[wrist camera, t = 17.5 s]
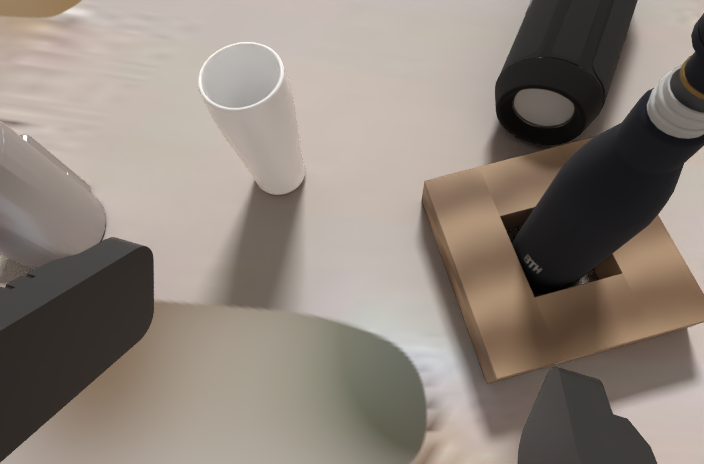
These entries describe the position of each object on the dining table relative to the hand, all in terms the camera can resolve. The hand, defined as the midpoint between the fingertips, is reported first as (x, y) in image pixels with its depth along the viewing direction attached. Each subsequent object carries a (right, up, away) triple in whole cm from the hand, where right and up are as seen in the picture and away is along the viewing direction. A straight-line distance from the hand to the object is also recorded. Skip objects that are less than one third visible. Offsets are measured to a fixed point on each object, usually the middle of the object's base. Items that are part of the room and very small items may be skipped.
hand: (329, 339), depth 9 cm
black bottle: (+18, -1, +35) cm, 39 cm away
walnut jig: (+18, 0, +35) cm, 39 cm away
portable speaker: (+24, +22, +44) cm, 54 cm away
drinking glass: (-7, +8, +40) cm, 42 cm away
